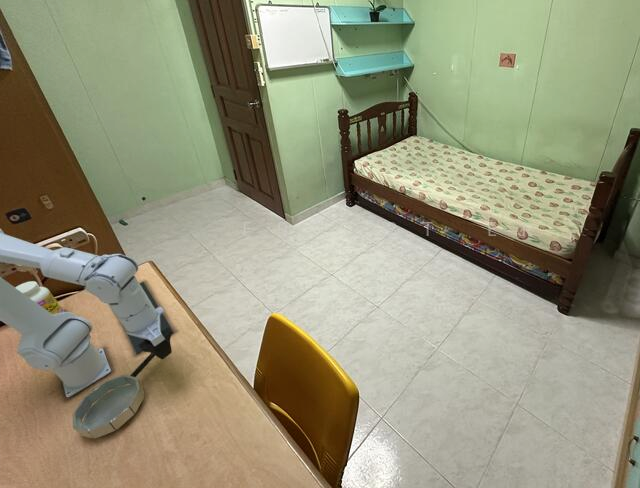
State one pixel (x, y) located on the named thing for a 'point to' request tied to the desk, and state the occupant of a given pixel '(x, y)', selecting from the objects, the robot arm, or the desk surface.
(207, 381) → the desk surface
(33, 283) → the supplement bottle
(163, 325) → the mat
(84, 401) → the frying pan
